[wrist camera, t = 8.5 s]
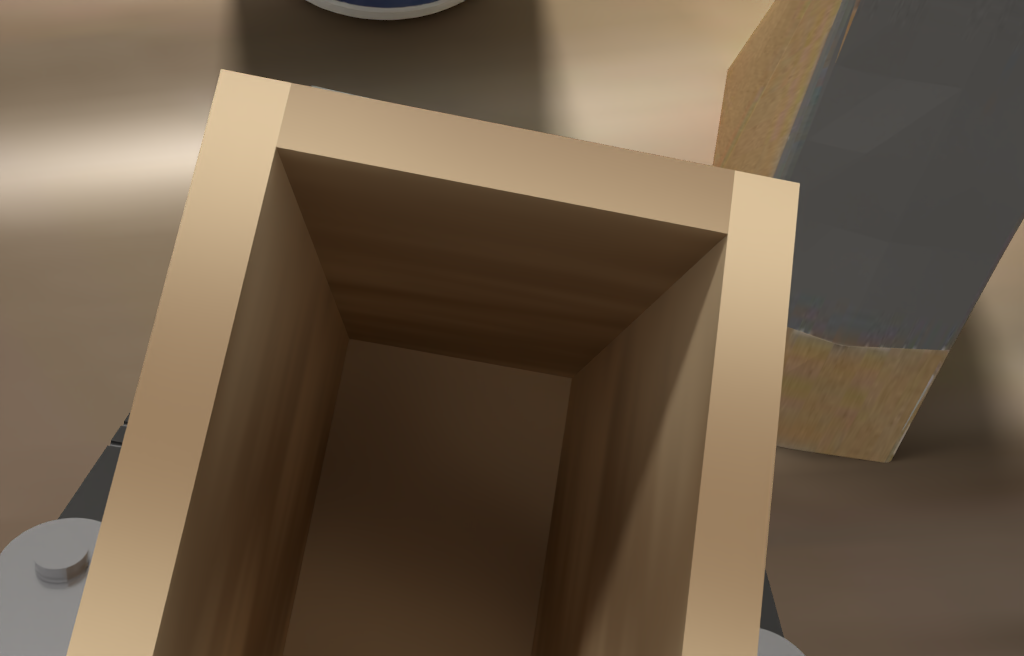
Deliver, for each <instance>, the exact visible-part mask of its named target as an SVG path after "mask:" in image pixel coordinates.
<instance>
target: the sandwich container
mask: <svg viewBox="0 0 1024 656" xmlns="http://www.w3.org/2000/svg"><path fill="white" fill-rule="evenodd" d="M713 166H715V167H720V168H725V169H730V170H735V171H740V172H745V173H750V174H755V175H761V176H766V177H771V178H776V179H781V180H786V181H791V182H796V183H800V188H799V199H798V210H797V221H796V232H795V243H794V254H793V265H792V276H791V287H790V298H789V309H788V320H787V332H786V343H785V354H784V365H783V376H782V387H781V398H780V409H779V420H778V431H777V442H776V446H780V447H784V448H789V449H795V450H802V451H809V452H816V453H823V454H829V455H836V456H843V457H850V458H857V459H864V460H870V461H877V462H890V461H891V460H892V458H893V456H894V454H895V453H896V451H897V449H898V447H899V445H900V443H901V441H902V439H903V438H904V436H905V434H906V432H907V430H908V428H909V426H910V424H911V423H912V421H913V419H914V417H915V415H916V413H917V411H918V410H919V408H920V406H921V404H922V402H923V400H924V398H925V396H926V395H927V393H928V391H929V389H930V387H931V385H932V383H933V382H934V380H935V378H936V376H937V374H938V372H939V370H940V368H941V367H942V365H943V363H944V361H945V359H946V357H947V355H948V354H949V352H950V350H951V348H952V346H953V344H954V342H955V341H956V339H957V337H958V335H959V333H960V332H961V330H962V328H963V326H964V324H965V322H966V321H967V319H968V317H969V315H970V313H971V312H972V310H973V308H974V306H975V304H976V302H977V301H978V299H979V297H980V295H981V293H982V292H983V290H984V288H985V286H986V284H987V282H988V281H989V279H990V277H991V275H992V273H993V271H994V270H995V268H996V266H997V264H998V262H999V261H1000V259H1001V257H1002V255H1003V253H1004V252H1005V250H1006V248H1007V246H1008V245H1009V243H1010V241H1011V240H1012V238H1013V236H1014V234H1015V233H1016V231H1017V229H1018V227H1019V226H1020V224H1021V222H1022V221H1023V219H1024V0H775V1H774V3H773V4H772V6H771V7H770V9H769V10H768V12H767V13H766V15H765V16H764V17H763V19H762V20H761V22H760V23H759V25H758V26H757V28H756V29H755V31H754V32H753V34H752V35H751V37H750V38H749V40H748V41H747V43H746V44H745V45H744V47H743V48H742V50H741V51H740V53H739V54H738V56H737V57H736V59H735V60H734V62H733V63H732V65H731V66H730V68H729V69H728V72H727V79H726V85H725V91H724V98H723V104H722V110H721V117H720V123H719V129H718V136H717V142H716V149H715V155H714V161H713Z"/></svg>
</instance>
